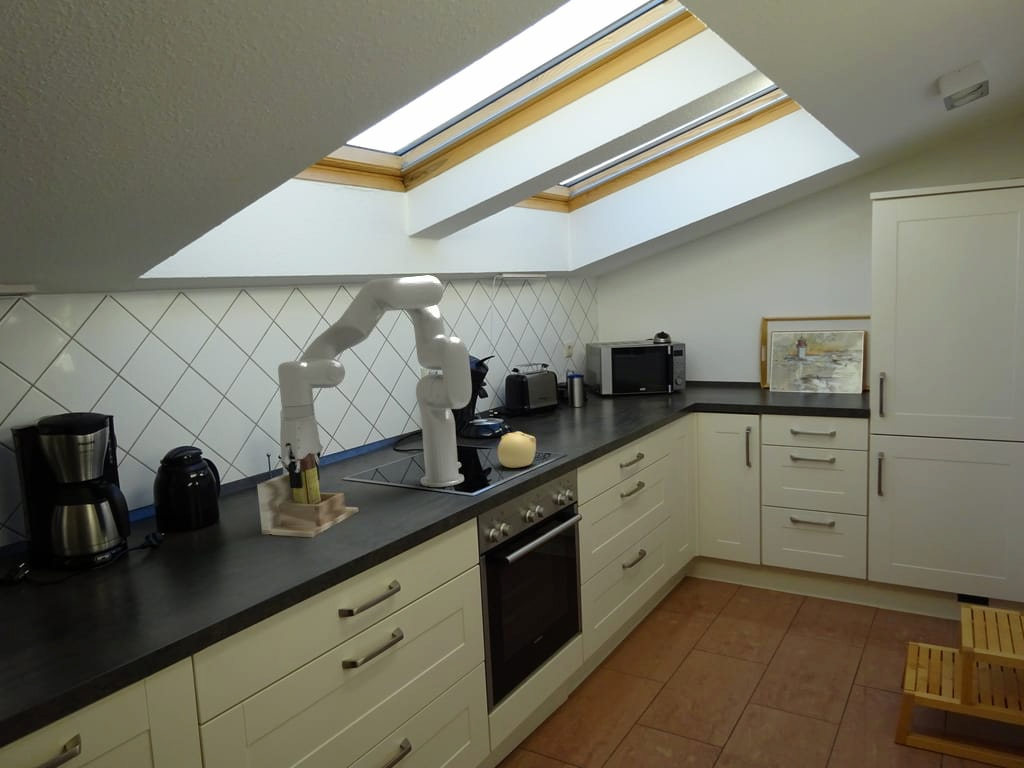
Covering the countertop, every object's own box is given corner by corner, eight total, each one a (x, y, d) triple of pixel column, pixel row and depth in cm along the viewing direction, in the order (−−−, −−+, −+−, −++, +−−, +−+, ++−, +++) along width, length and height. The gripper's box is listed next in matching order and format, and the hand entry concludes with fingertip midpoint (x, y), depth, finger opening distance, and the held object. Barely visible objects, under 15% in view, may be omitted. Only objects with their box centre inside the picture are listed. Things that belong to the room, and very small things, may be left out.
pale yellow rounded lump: (541, 462, 225) (539, 428, 224) (527, 471, 214) (525, 436, 213) (507, 461, 229) (505, 428, 228) (492, 470, 218) (490, 435, 217)
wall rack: (312, 509, 187) (307, 464, 186) (358, 511, 182) (354, 465, 181) (262, 534, 168) (257, 484, 167) (312, 537, 164) (307, 486, 162)
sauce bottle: (320, 504, 179) (313, 427, 177) (322, 511, 173) (315, 431, 171) (293, 508, 177) (286, 430, 175) (294, 515, 171) (286, 434, 169)
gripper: (306, 406, 182) (313, 475, 184) (262, 418, 166) (269, 493, 168) (331, 406, 179) (338, 475, 181) (289, 418, 163) (296, 494, 165)
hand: (305, 483), depth 175 cm, fingers closed on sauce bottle, 6 cm apart
